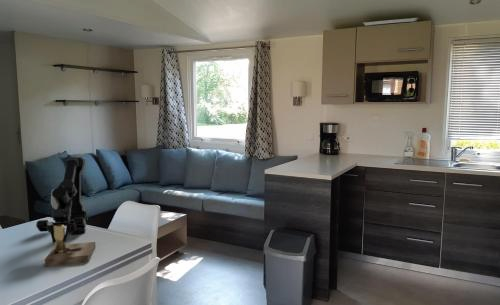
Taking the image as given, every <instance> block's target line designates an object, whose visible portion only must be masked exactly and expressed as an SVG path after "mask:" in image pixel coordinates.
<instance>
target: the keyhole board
mask: <svg viewBox="0 0 500 305" xmlns="http://www.w3.org/2000/svg"><path fill="white" fill-rule="evenodd" d="M95 250H96V241H89V242H79V243H66V249H65V250H63V253H62V254H59V252H58V251H56V250H55V246H54V247H53V248H52V250H50V251H49V253H48V255H47V256H46V257H45V258H44V267H45V266H46V267H53V266H56V267H57V266H65V265H73V264H83V263H90V261H91V259H92V257H93V254H94V252H95Z"/></svg>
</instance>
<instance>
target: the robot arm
mask: <svg viewBox="0 0 500 305" xmlns="http://www.w3.org/2000/svg"><path fill="white" fill-rule="evenodd" d="M85 166H86V159H85V158H83V156H75V157H73V156H72V157H69V158H68V159H65V171H64V176H63V180H62V181H61V182H60V183H59V185H58V186H57V187H55V190H54V191H53V192H52V191H51V193H52V196H53V198H54V200H55V202H56V203H57V204H58V206H57V209H54V208H53V209H52V210H51V218H52V219H53V221H54V222H53V221H49V220H48V219H42V220H41V219H40V220H38V221H37V222H36V224H35V228H37V230H38V231H39V232H41V233H42V232H48V233H49V234H50V236H51V240H52V243H53V244H55V239H54V227H53V226H54V225H58V224H64V226H66V229H65V237H64V242H65V243H66V242H67V241H68V239H69V238H70V236H73V235H83V234H85V233H86V230H87V228H86V227H87V222H86V221H88V220H89V218H88V214H87V212H86V209H85V206H84V204H83V203H82V174H83V172H84V170H85Z"/></svg>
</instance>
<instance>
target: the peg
mask: <svg viewBox="0 0 500 305" xmlns="http://www.w3.org/2000/svg"><path fill="white" fill-rule="evenodd" d="M53 227H54V239H55V243H54V247H55V250H56V251H58V252H59V254H62V253H63V250H65V249H66V244H67V243H66V242H64V237H65V233H66V229H64V224H58V225H54V226H53Z"/></svg>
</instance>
